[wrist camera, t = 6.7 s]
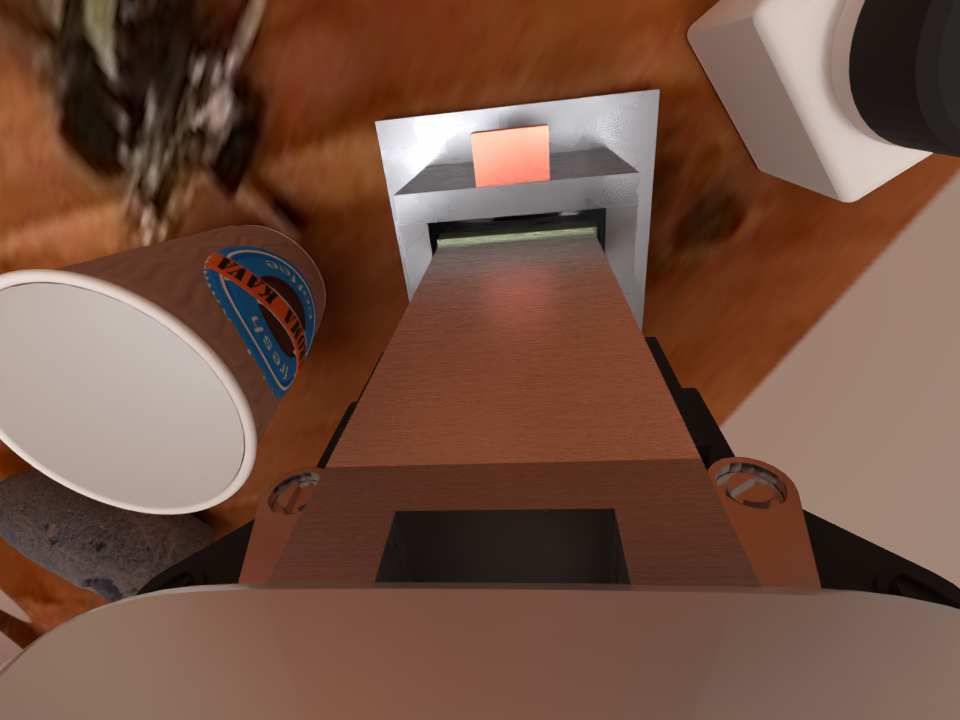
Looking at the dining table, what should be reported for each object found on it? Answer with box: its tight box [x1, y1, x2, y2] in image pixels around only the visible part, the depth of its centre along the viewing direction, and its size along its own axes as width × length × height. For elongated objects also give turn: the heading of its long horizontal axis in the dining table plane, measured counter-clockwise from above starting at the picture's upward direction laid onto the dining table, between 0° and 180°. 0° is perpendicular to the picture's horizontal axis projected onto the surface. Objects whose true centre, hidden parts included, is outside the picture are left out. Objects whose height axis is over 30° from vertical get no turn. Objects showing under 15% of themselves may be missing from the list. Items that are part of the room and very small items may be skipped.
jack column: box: [266, 214, 762, 587], centre depth 12 cm, size 5×5×15 cm
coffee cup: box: [0, 225, 326, 514], centre depth 22 cm, size 10×10×12 cm
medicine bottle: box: [687, 0, 960, 202], centre depth 14 cm, size 7×7×12 cm
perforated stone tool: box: [0, 470, 215, 602], centre depth 34 cm, size 15×5×7 cm, turn 58°
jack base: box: [375, 89, 660, 332], centre depth 21 cm, size 12×12×8 cm
